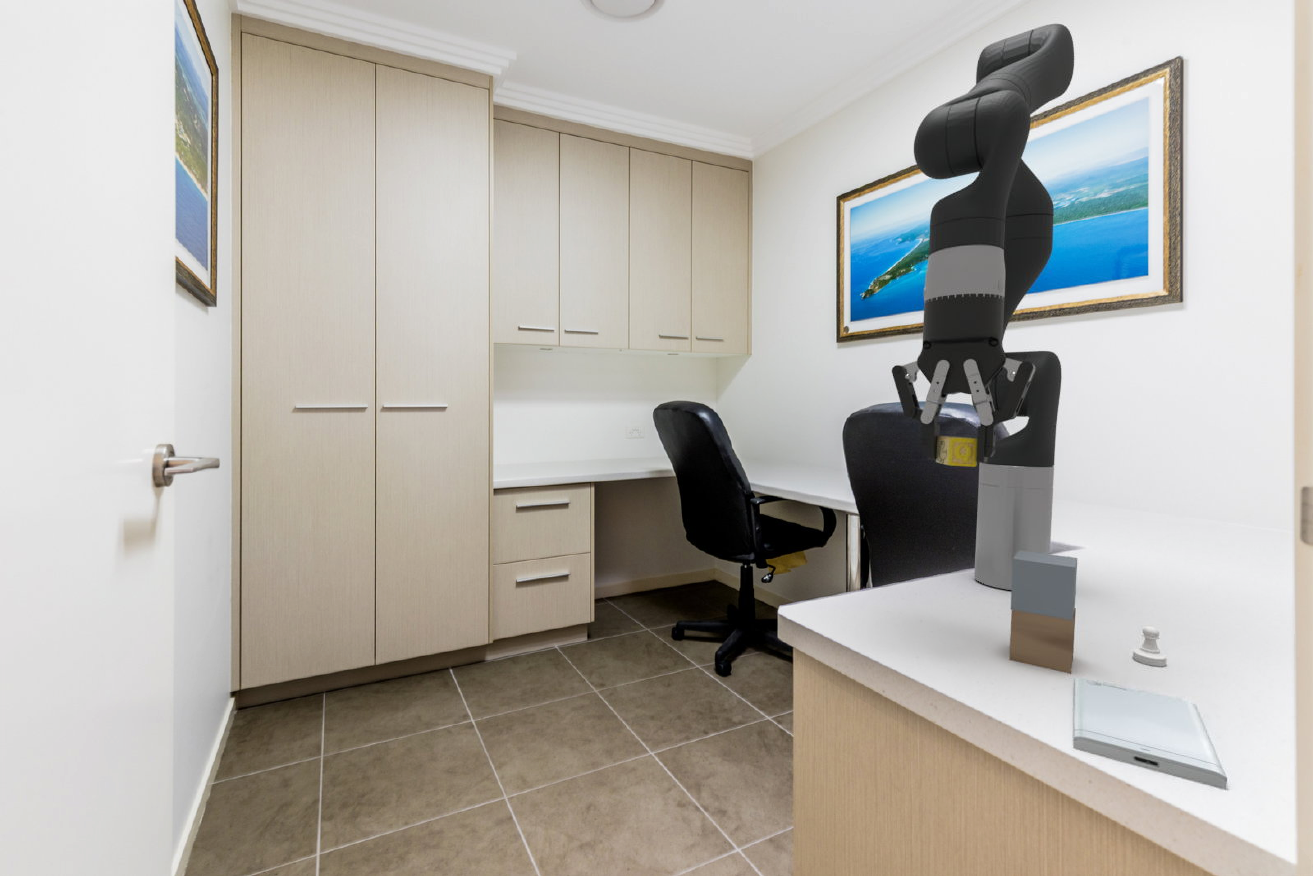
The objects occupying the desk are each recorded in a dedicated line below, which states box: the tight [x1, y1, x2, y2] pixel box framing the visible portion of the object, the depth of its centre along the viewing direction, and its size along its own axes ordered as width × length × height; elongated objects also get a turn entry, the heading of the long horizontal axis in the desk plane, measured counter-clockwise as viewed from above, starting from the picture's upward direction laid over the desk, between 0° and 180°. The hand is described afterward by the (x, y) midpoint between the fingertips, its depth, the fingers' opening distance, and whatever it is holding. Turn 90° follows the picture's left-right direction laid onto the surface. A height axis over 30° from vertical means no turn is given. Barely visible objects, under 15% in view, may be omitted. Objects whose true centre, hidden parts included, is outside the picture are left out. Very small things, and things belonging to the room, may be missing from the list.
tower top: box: [1010, 550, 1078, 621], centre depth 60 cm, size 5×5×5 cm
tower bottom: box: [1008, 607, 1077, 675], centre depth 60 cm, size 5×5×5 cm
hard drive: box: [1072, 677, 1228, 790], centre depth 47 cm, size 2×8×12 cm
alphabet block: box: [934, 435, 978, 468], centre depth 65 cm, size 3×3×3 cm
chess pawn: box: [1132, 625, 1167, 667], centre depth 60 cm, size 3×3×4 cm
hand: (956, 459), depth 65 cm, fingers closed on alphabet block, 4 cm apart
